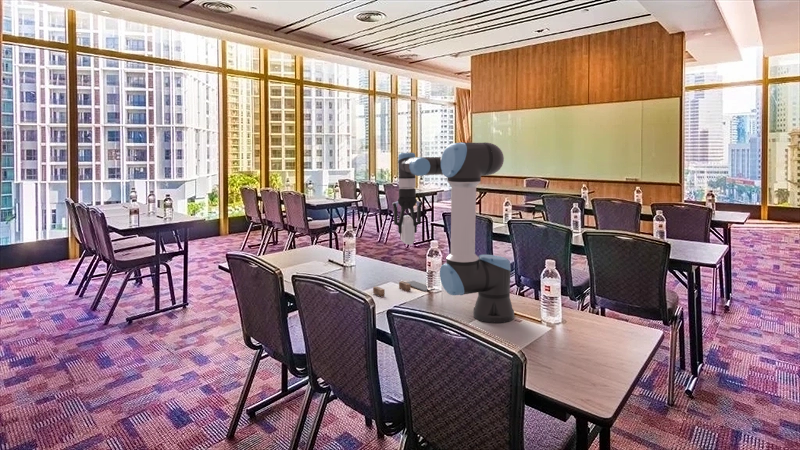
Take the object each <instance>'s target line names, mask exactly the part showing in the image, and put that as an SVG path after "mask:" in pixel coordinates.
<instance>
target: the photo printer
mask: <svg viewBox="0 0 800 450" xmlns="http://www.w3.org/2000/svg"><path fill="white" fill-rule="evenodd" d="M402 226H403V240H404V241H402V242H403V244H405V245H413V244H414V241H415V240H414V238H413V219H412V217H411V215H408V214H407V215H406V214H404V217H403V222H402Z"/></svg>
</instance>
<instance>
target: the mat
mask: <svg viewBox="0 0 800 450" xmlns="http://www.w3.org/2000/svg"><path fill="white" fill-rule="evenodd" d="M405 282H406V283H409V284H411V286H412V287H411V288H413V287H414V289H416V288H417V290H419V291H421V292H428V291H427V290H428V289H427V286H426V285H427V284H424V283H422V282H419V281H416V280H412V281H405Z"/></svg>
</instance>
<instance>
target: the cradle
mask: <svg viewBox="0 0 800 450" xmlns="http://www.w3.org/2000/svg"><path fill="white" fill-rule="evenodd" d="M406 282H407V281H399V282H398V285H399V286H398V288H401V289H400V290H402V289H403V290H402V291H405V290H406V291H405V292H410V291H409V290H411V288H412V287H411V284H409V283H406ZM372 293H375V294H377V295H379V296H378V297H380V296H383V297H385V288H382V287H380V286H377V285H376V286H373V287H372ZM375 294H374V295H375ZM377 295H376V296H377Z"/></svg>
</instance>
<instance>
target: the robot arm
mask: <svg viewBox="0 0 800 450" xmlns="http://www.w3.org/2000/svg"><path fill="white" fill-rule="evenodd" d="M397 158H398V160H397V164H398V167H397V169H398V199H397V201H395V202H393V201H392V203H391V204H392V208H393V225H395V226H397V228H398V229H397V232H398V234H400V241H401V242H403V241H404V240H403V226H402V222H403V217H404V216H405V212H406V210H409V211H410V217H411V218H412V219H413V238H414V241H415V239H416V238H415V237H416V236H415V234H416V233H417V232H418V231H417V230H418V228H417V227H418V225H421V223H422V206H423V202H422V201H419V200H417V197H416V193H417V192H416V187H417V186H416V185H417V184H416V181H417V180H416V177H419V176H420V177H422V176H433V175H435V176H437V175H438V176H439V175H443V176H444V177H446V179H447V180H446V181H447V183H448V185H450V187H451V192H450V193H451V194H450V195H451V201H450V202H451V206H450V207H451V209H450V212H451V213H450V252H449V254H448V255H447V256H446V257H445V258H446V261H445V263H443V264H442V265H441V266H440V269H439V278H440V279H439V280H440V281H441V285H442V287H443V289H444V290H445V292H446V293H447V294H449V295H450V296H464V295H470V294H476V293H477V299H476V300H475V305H474V307H473V311H472V313H473V314H472V316H473V318H474V319H476V320H478V321H481V322H484V323H490V322H491V324H492V323H493V324H501V323H509V322H511V321H513V320H514V319H515V310H514V308H513V305H512V300H511V296H510V295H511V294H510V293H511V271H512V269H511V261H510V259H508V258H506V257H505V256H501V255H494V254H479V255H477V254H476V216H477V215H476V214H477V213H476V212H477V211H476V209H477V208H476V207H477V186H478V185H479V184H480V183H481V182H482V178H481V177H482V176H483V177H484V176H490V175H494V174H497V172H499V171H500V170H501V168H502V167H503V164H504V161H505V160H504V159H505V156H504V153H503V151H502V150H501V148H500V147H499V146H498V145H497V144H494V143H492V142H461V141H460V142H453V143H450V144H448V145H447V146H446V147H445V149H444V150H443V152H442V155H441V156H425V157H424V156H423V157H422V156H421V157H420V156H417V157H416V153H414V152H400V153H399V154H398V156H397ZM398 206H400V212H399V215H398ZM415 206H417V207H416V215H415V208H414V207H415ZM398 216H399V218H398Z"/></svg>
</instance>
